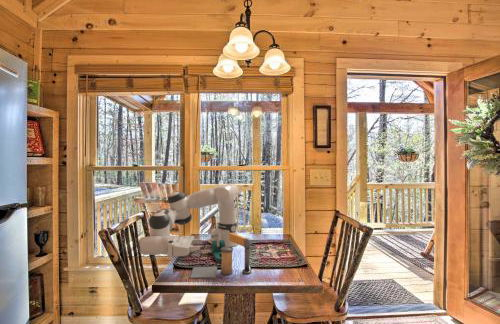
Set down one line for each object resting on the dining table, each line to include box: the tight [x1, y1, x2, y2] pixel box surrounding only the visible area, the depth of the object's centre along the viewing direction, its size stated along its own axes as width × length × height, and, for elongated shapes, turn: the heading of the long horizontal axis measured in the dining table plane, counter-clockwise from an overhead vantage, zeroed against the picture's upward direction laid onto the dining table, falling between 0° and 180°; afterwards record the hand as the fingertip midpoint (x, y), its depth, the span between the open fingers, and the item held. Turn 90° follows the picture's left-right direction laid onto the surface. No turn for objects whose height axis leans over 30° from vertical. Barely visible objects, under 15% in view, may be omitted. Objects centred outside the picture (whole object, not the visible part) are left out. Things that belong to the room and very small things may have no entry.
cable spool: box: [220, 246, 234, 276], centre depth 139 cm, size 6×6×12 cm
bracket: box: [211, 240, 225, 263], centre depth 161 cm, size 18×7×8 cm, turn 16°
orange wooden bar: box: [229, 233, 251, 249], centre depth 144 cm, size 16×3×4 cm, turn 40°
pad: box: [189, 266, 218, 280], centre depth 139 cm, size 12×12×1 cm
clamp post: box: [241, 247, 252, 275], centre depth 140 cm, size 4×4×12 cm
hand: (201, 244), depth 138 cm, fingers open, 8 cm apart
